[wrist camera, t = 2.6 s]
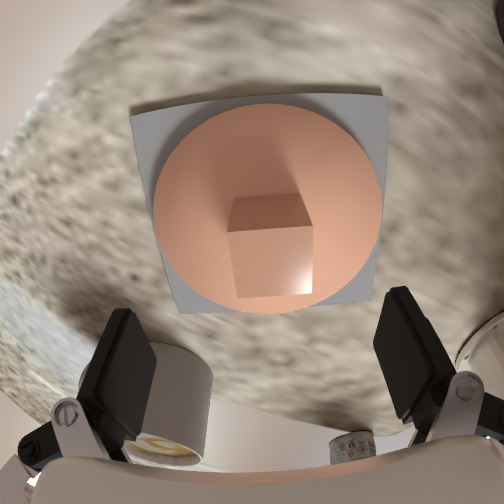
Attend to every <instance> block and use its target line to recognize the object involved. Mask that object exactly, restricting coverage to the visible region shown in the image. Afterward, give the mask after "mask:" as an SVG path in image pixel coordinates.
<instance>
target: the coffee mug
mask: <svg viewBox="0 0 504 504" xmlns="http://www.w3.org/2000/svg"><path fill="white" fill-rule="evenodd" d="M150 345H151V347H152V349H153V351H154V353H155V355H156V358H157V365H156V369H155V373H154V377H153V381H152V385H151V389H150V394H149V398H148V402H147V407H146V411H145V416H144V420H143V425H142V430H141V433H140V435H139V436H137V437H136V442H134V441H128V440H124V445H123V447H124V449H125V451H126V452H127V454H128V455H130V456H133V457H135V458H138V459H141V460H144V461H148V462H151V463H156V464H160V465H166V466H175V467H190V466H196V465H199V464H200V463H202V461H203V457H204V448H205V438H206V430H207V421H208V413H209V405H210V396H211V388H212V380H213V375H212V372H211V369H210V368H209V367H208V365H207V364H206V363H205V362H204V361H203V360H202V359H201V358H199V357H198V356H196V355H195V354H193V353H191V352H189V351H187V350H185V349H183V348H180V347H177V346H174V345H170V344H165V343H157V342H151V343H150ZM89 364H90V363H89ZM89 364H88V365H87V366H86V367H85V369H84V370H83V372H82V375H81V377H80V381H79V390H80V387H81V384H82V382H83V379H84V377H85V374H86V372H87V369H88V367H89Z"/></svg>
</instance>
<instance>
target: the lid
mask: <svg viewBox="0 0 504 504" xmlns="http://www.w3.org/2000/svg"><path fill="white" fill-rule="evenodd" d="M153 217H154V226H155V231H156V236H157V239H158V242H159V244H160V247H161V249H162V251H163V253H164V255H165V257H166V259H167V261H168V262H169V264H170V265H171V267H172V268H173V270H174V271H175V272H176V273H177V274H178V276H179V277H180V278H181V279H182V280H183V281H184V282H185V283H186V284H187V285H189V286H190V287H191V288H192V289H193V290H195V291H196V292H198V293H199V294H200V295H202V296H204V297H205V298H207V299H209V300H211V301H213V302H215V303H217V304H220V305H222V306H224V307H227V308H231V309H234V310H238V311H243V312H248V313H259V314H276V313H284V312H290V311H295V310H299V309H302V308H305V307H308V306H311V305H314V304H316V303H318V302H320V301H323V300H325V299H326V298H328V297H330V296H331V295H333V294H335V293H336V292H337V291H339V290H340V289H341V288H343V287H344V286H345V285H346V284H347V283H348V282H349V281H350V280H352V279H353V278H354V277H355V275H356V274H357V273H358V272H359V271H360V269H361V268H362V267H363V265H364V264H365V262H366V261H367V259H368V258H369V256H370V254H371V252H372V250H373V248H374V246H375V243H376V240H377V237H378V234H379V230H380V225H381V219H382V199H381V191H380V187H379V183H378V179H377V176H376V173H375V171H374V169H373V166H372V164H371V162H370V160H369V159H368V157H367V156H366V154H365V152H364V151H363V149H362V148H361V147H360V146H359V145H358V143H357V142H356V141H355V140H354V139H353V138H352V137H351V136H350V135H349V134H348V133H347V132H346V131H344V130H343V129H342V128H341V127H339V126H338V125H336V124H335V123H333V122H332V121H330V120H329V119H327V118H325V117H323V116H321V115H319V114H316V113H314V112H312V111H309V110H306V109H302V108H299V107H295V106H291V105H284V104H277V103H261V104H252V105H246V106H241V107H237V108H234V109H231V110H228V111H225V112H223V113H221V114H218V115H216V116H214V117H212V118H210V119H208V120H207V121H205V122H204V123H202V124H201V125H199V126H198V127H196V128H195V129H194V130H192V131H191V132H190V133H189V134H188V135H187V136H186V137H185V138H184V139H183V140H182V141H181V142H180V143H179V144H178V145H177V147H176V148H175V149H174V150H173V151H172V153H171V154H170V156H169V158H168V159H167V161H166V163H165V164H164V166H163V169H162V171H161V173H160V176H159V178H158V181H157V185H156V189H155V194H154V203H153Z"/></svg>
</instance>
